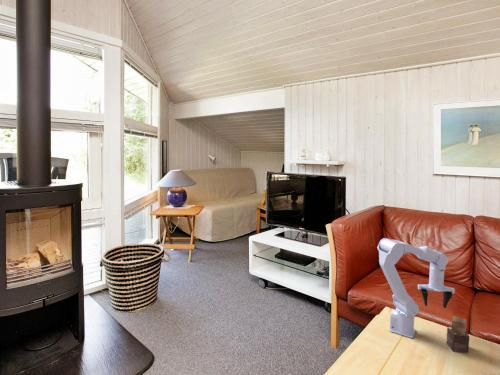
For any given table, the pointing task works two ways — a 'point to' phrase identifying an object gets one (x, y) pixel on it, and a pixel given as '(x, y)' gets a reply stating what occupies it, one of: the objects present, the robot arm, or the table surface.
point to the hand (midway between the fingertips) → (434, 305)
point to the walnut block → (458, 325)
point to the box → (457, 341)
